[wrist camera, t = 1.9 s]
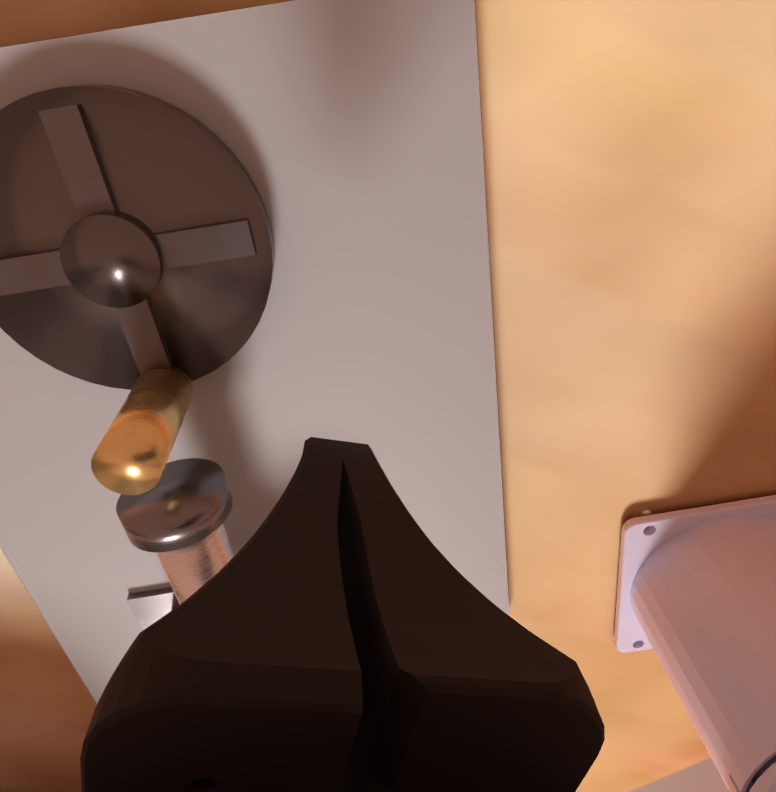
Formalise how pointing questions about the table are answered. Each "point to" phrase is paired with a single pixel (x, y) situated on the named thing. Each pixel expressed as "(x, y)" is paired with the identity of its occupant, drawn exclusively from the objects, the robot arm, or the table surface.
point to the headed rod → (182, 522)
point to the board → (288, 297)
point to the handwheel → (128, 257)
